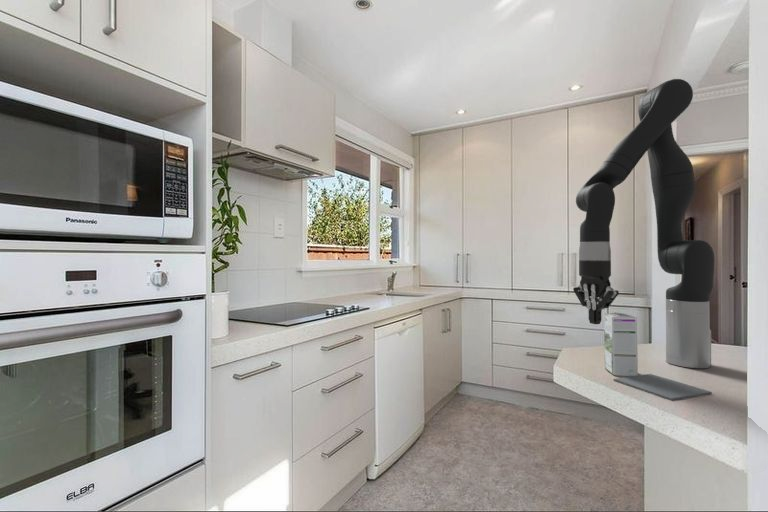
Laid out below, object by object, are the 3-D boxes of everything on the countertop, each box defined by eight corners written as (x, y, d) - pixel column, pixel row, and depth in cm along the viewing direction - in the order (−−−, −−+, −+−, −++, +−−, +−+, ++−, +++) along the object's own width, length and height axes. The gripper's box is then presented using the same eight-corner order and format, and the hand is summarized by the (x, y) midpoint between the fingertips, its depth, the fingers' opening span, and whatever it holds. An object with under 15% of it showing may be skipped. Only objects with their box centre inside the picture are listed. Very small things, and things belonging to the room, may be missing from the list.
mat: (650, 375, 93) (650, 373, 93) (711, 393, 80) (711, 391, 80) (613, 380, 89) (613, 378, 89) (671, 400, 76) (671, 398, 76)
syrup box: (638, 377, 91) (638, 316, 91) (611, 375, 93) (611, 315, 93) (628, 370, 97) (628, 313, 97) (603, 368, 98) (603, 312, 98)
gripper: (627, 259, 97) (628, 327, 97) (585, 258, 110) (585, 319, 109) (605, 259, 95) (605, 329, 95) (564, 259, 107) (564, 320, 107)
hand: (594, 323), depth 102 cm, fingers closed
